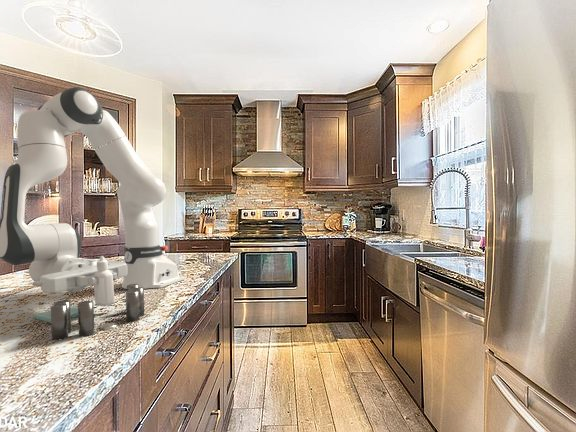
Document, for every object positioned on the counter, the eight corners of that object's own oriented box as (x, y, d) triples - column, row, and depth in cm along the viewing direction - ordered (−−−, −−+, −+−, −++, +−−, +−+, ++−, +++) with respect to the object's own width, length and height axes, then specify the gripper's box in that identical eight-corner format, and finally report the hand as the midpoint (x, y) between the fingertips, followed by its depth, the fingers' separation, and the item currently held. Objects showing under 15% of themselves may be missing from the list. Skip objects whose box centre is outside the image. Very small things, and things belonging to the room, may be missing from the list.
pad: (70, 308, 96) (69, 305, 96) (89, 312, 91) (88, 309, 91) (33, 317, 88) (33, 314, 88) (52, 323, 83) (52, 319, 83)
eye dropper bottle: (94, 308, 82) (91, 258, 81) (95, 302, 87) (92, 255, 86) (114, 305, 84) (111, 256, 83) (114, 299, 89) (111, 253, 88)
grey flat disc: (107, 325, 82) (107, 322, 82) (121, 326, 81) (121, 323, 81) (96, 331, 78) (96, 327, 78) (111, 331, 78) (111, 328, 78)
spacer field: (134, 308, 94) (134, 283, 94) (158, 313, 90) (157, 286, 90) (42, 337, 74) (41, 305, 74) (67, 344, 70) (65, 311, 70)
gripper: (27, 270, 82) (59, 275, 75) (108, 256, 100) (139, 259, 93) (29, 296, 82) (61, 303, 75) (109, 277, 100) (141, 282, 93)
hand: (105, 278), depth 84 cm, fingers closed on eye dropper bottle, 3 cm apart
